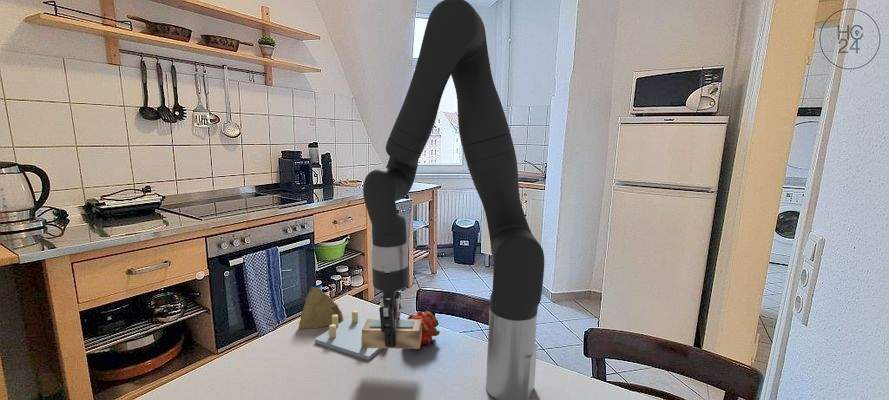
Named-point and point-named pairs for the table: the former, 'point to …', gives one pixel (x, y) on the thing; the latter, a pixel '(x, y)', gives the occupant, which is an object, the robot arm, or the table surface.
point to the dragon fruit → (427, 327)
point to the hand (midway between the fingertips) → (392, 338)
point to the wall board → (347, 337)
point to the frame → (405, 334)
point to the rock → (318, 310)
